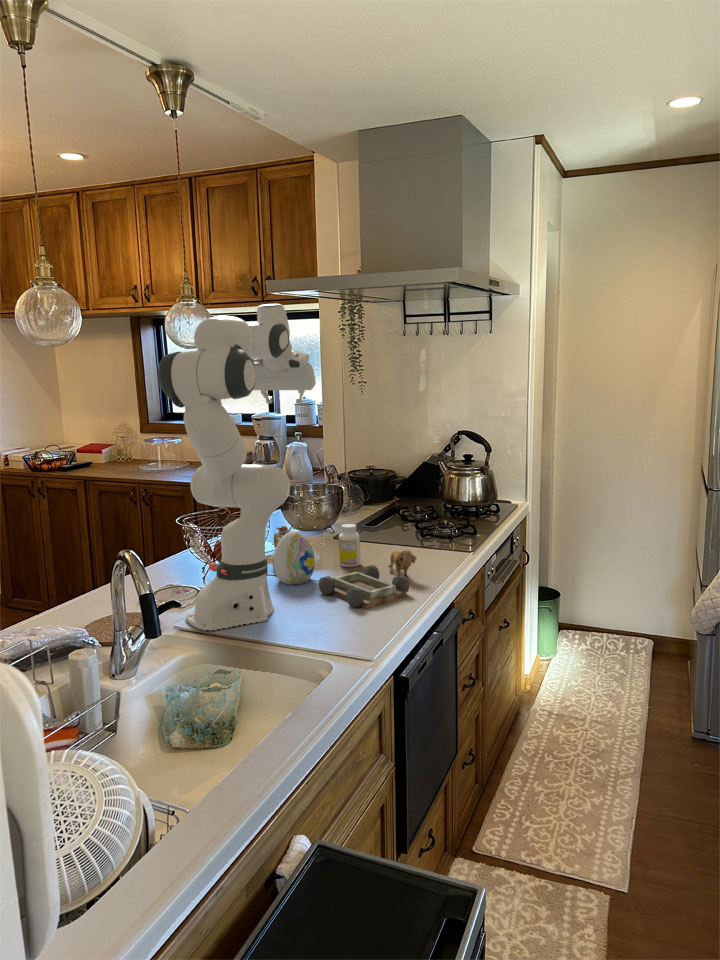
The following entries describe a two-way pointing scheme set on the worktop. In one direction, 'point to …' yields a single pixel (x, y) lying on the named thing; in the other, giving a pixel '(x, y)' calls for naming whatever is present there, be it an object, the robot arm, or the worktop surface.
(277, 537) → the toy helicopter
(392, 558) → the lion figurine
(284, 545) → the decorative egg
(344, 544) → the supplement bottle
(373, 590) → the toy car chassis
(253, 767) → the worktop surface
